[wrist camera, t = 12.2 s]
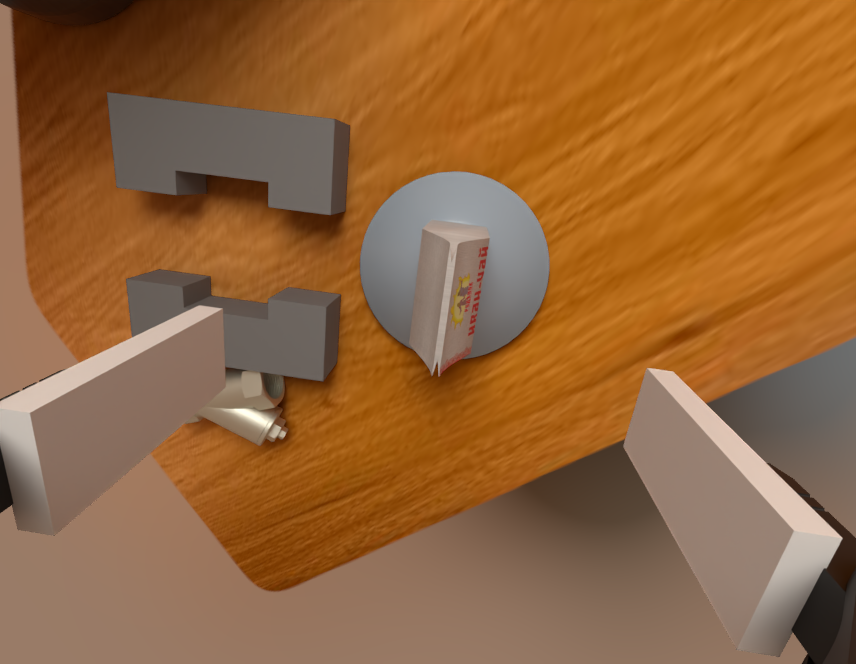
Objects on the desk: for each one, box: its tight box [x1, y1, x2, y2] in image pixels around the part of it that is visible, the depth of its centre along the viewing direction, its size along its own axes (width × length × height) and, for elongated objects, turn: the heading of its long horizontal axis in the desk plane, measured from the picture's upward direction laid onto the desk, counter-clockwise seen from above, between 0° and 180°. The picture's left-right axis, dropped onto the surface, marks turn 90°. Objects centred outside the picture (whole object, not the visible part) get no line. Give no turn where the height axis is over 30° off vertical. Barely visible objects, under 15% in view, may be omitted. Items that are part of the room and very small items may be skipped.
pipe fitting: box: [184, 368, 288, 446], centre depth 36 cm, size 8×4×7 cm
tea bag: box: [409, 220, 490, 376], centre depth 27 cm, size 4×7×10 cm, turn 173°
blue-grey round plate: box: [360, 172, 549, 359], centre depth 32 cm, size 13×13×1 cm
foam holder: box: [107, 92, 350, 381], centre depth 31 cm, size 17×14×4 cm
